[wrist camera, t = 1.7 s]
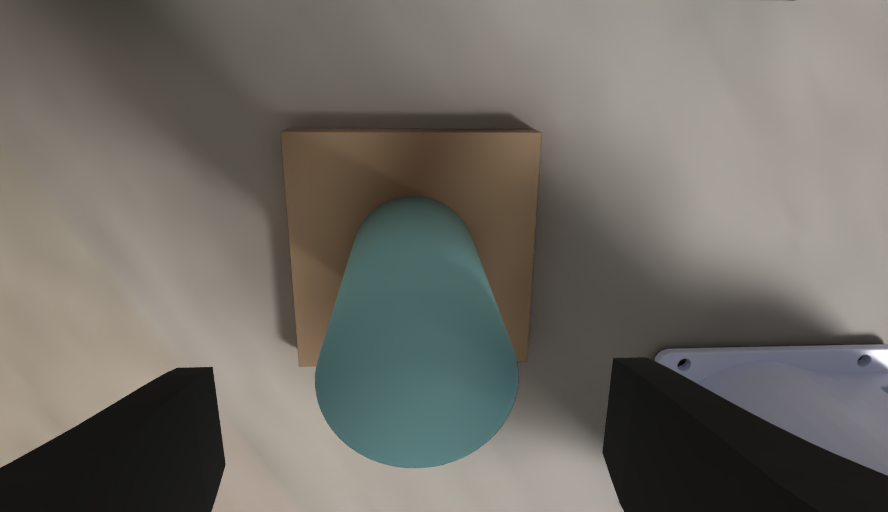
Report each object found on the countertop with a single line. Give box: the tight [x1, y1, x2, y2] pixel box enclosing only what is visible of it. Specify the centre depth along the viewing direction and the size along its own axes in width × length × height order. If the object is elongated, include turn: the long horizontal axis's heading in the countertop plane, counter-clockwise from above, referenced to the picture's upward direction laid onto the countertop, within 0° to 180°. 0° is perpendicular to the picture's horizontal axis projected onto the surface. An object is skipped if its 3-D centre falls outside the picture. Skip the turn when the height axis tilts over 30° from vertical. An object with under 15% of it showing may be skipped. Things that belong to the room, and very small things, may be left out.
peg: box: [315, 196, 518, 468], centre depth 15 cm, size 4×4×8 cm
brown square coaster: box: [281, 129, 541, 367], centre depth 19 cm, size 8×8×1 cm
